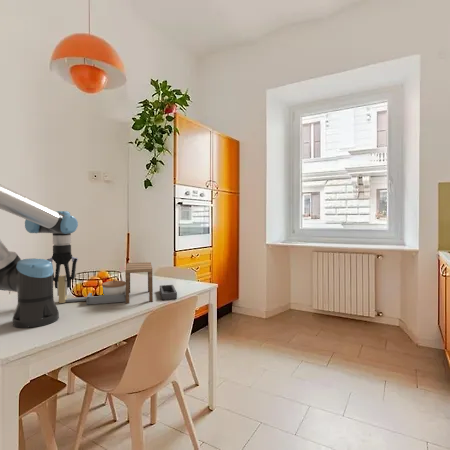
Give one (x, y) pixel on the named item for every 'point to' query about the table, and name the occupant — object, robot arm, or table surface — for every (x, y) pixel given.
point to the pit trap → (168, 292)
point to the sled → (89, 298)
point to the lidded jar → (114, 287)
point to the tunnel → (136, 269)
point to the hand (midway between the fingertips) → (63, 294)
